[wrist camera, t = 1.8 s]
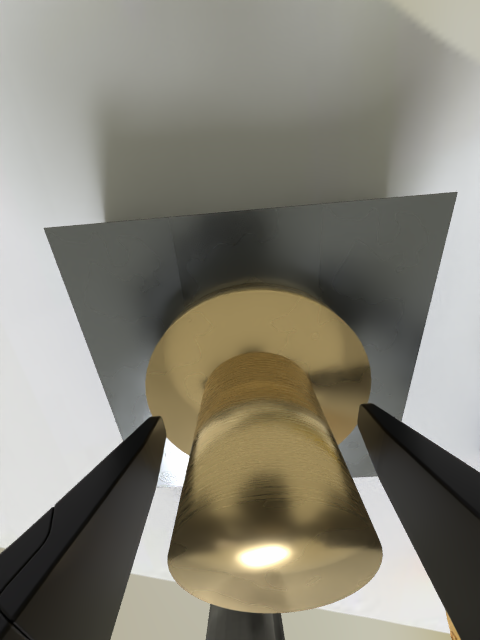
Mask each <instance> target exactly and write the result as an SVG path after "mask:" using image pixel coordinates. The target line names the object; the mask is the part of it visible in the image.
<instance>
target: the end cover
mask: <svg viewBox="0 0 480 640" xmlns="http://www.w3.org/2000/svg"><path fill="white" fill-rule="evenodd" d="M145 388H146V398H147V402H148V407H149V409H150V412H151V415H152V416H161V417H162V419H163V422H164V426H165V429H166V438H167V439H168V440H169V441H170V442H171V443H172V444H173V445H175V446H176V447H177V448H178V449H180V450H181V451H182V452H184V453H185V454H187V455H188V456H189V460H188V465H187V470H186V474H185V479H184V483H183V488H182V493H181V497H180V502H179V506H178V511H177V515H176V520H175V525H174V529H173V534H172V538H171V543H170V548H169V552H168V567H169V571H170V573H171V575H172V577H173V578H174V580H175V581H176V582H177V583H178V584H179V585H180V586H181V587H182V588H183V589H184V590H186V591H187V592H188V593H190V594H191V595H193V596H195V597H197V598H198V599H201V600H203V601H205V602H207V603H210V604H213V605H216V606H219V607H223V608H227V609H231V610H236V611H243V612H251V613H287V612H296V611H303V610H308V609H313V608H317V607H321V606H325V605H328V604H331V603H334V602H336V601H339V600H341V599H343V598H345V597H347V596H349V595H351V594H353V593H355V592H356V591H358V590H359V589H361V588H362V587H363V586H365V585H366V584H367V583H368V582H369V581H370V580H371V579H372V578H373V577H374V576H375V574H376V573H377V571H378V570H379V567H380V565H381V562H382V556H383V553H382V546H381V543H380V541H379V538H378V536H377V534H376V531H375V529H374V527H373V524H372V522H371V520H370V518H369V515H368V513H367V511H366V508H365V506H364V504H363V502H362V499H361V497H360V495H359V492H358V490H357V488H356V486H355V483H354V481H353V479H352V476H351V474H350V472H349V470H348V467H347V465H346V463H345V460H344V458H343V456H342V454H341V451H340V449H339V447H338V445H339V444H340V443H341V442H342V441H343V440H344V439H345V438H346V437H347V436H348V435H349V434H350V433H351V432H352V431H353V429H354V428H355V427H356V425H357V419H358V412H359V406H360V405H361V404H364V403H368V400H369V396H370V391H371V369H370V364H369V360H368V357H367V354H366V352H365V349H364V347H363V345H362V343H361V341H360V340H359V338H358V337H357V335H356V334H355V332H354V331H353V330H352V329H351V328H350V327H349V326H348V325H347V324H346V323H345V322H344V321H343V320H342V319H341V318H340V317H339V316H338V315H337V314H336V313H335V312H334V311H333V310H332V309H331V308H329V307H328V306H327V305H326V304H324V303H323V302H322V301H320V300H318V299H317V298H315V297H313V296H312V295H310V294H308V293H305V292H303V291H300V290H298V289H295V288H292V287H288V286H284V285H279V284H270V283H247V284H240V285H233V286H230V287H226V288H222V289H219V290H217V291H214V292H212V293H210V294H207V295H205V296H203V297H202V298H200V299H198V300H197V301H195V302H193V303H192V304H191V305H190V306H188V307H187V308H186V309H185V310H183V311H182V312H181V313H180V314H179V315H178V316H177V317H176V318H175V320H174V321H173V322H172V323H171V325H170V326H169V328H168V329H167V331H166V332H165V334H164V335H163V336H162V338H161V339H160V341H159V342H158V344H157V345H156V347H155V349H154V351H153V353H152V355H151V358H150V361H149V364H148V368H147V372H146V380H145Z"/></svg>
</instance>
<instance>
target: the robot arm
mask: <svg viewBox="0 0 480 640" xmlns="http://www.w3.org/2000/svg"><path fill="white" fill-rule="evenodd" d="M357 424H358V428H359V431H360V433H361V436H362V438H363V441H364V444H365V446H366V449H367V451H368V454H369V456H370V459H371V461H372V464H373V466H374V469H375V471H376V473H377V475H378V477H379V480H380V482H381V484H382V486H383V487H384V489H385V491H386V493H387V495H388V497H389V499H390V501H391V503H392V505H393V507H394V509H395V511H396V513H397V515H398V517H399V519H400V521H401V523H402V525H403V527H404V529H405V531H406V533H407V535H408V537H409V539H410V541H411V543H412V545H413V547H414V549H415V550H416V552H417V554H418V556H419V558H420V560H421V562H422V564H423V566H424V568H425V570H426V572H427V574H428V576H429V578H430V580H431V582H432V584H433V586H434V588H435V590H436V592H437V594H438V596H439V598H440V600H441V602H442V604H443V606H444V608H445V610H446V612H447V613H448V615H449V617H450V619H451V621H452V623H453V625H454V627H455V629H456V631H457V633H458V635H459V637H460V639H461V640H480V472H478V471H477V470H475V469H474V468H472V467H470V466H469V465H467V464H466V463H464V462H463V461H461V460H460V459H458V458H457V457H455V456H453V455H452V454H450V453H449V452H447V451H446V450H444V449H443V448H441V447H440V446H438V445H437V444H435V443H433V442H432V441H430V440H429V439H427V438H426V437H424V436H423V435H421V434H420V433H418V432H416V431H415V430H413V429H412V428H410V427H409V426H407V425H406V424H404V423H403V422H401V421H400V420H398V419H396V418H395V417H393V416H392V415H390V414H389V413H387V412H386V411H384V410H383V409H381V408H379V407H378V406H376V405H375V404H373V403H364V404H361V405H360V406H359V412H358V419H357ZM165 442H166V429H165V426H164V422H163V419H162V417H161V416H151V417H149V418H148V419H147V420H146V421H145V422H143V423H142V424H141V425H140V426H139V427H138V428H137V429H136V430H135V431H134V432H133V433H132V434H131V435H129V436H128V437H127V438H126V439H125V440H124V441H123V442H122V443H121V444H120V445H119V446H118V447H117V448H115V449H114V450H113V451H112V452H111V453H110V454H109V455H108V456H107V457H106V458H105V459H104V460H103V461H101V462H100V463H99V464H98V465H97V466H96V467H95V468H94V469H93V470H92V471H91V472H90V473H89V474H87V475H86V476H85V477H84V478H83V479H82V480H81V481H80V482H79V483H78V484H77V485H76V486H75V487H73V488H72V489H71V490H70V491H69V492H68V493H67V494H66V495H65V496H64V497H63V498H62V499H61V500H59V501H58V502H57V503H56V504H55V507H52V508H51V509H50V510H49V511H47V512H46V513H45V514H44V515H43V516H42V517H41V518H40V519H39V520H38V521H37V522H36V523H34V524H33V525H32V526H31V527H30V528H29V529H28V530H27V531H26V532H24V533H23V534H22V535H21V536H20V537H19V538H18V539H17V540H16V541H14V542H13V543H12V544H11V545H10V546H9V547H7V548H6V549H5V550H4V551H3V552H2V553H0V640H110V639H111V635H112V632H113V629H114V625H115V622H116V619H117V615H118V612H119V609H120V605H121V602H122V599H123V596H124V592H125V589H126V585H127V582H128V579H129V575H130V572H131V569H132V566H133V563H134V559H135V556H136V553H137V549H138V546H139V543H140V539H141V536H142V533H143V529H144V526H145V523H146V519H147V516H148V513H149V510H150V506H151V503H152V500H153V496H154V493H155V490H156V486H157V482H158V478H159V473H160V468H161V463H162V458H163V453H164V447H165Z"/></svg>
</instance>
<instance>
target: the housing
mask: <svg viewBox="0 0 480 640" xmlns="http://www.w3.org/2000/svg"><path fill="white" fill-rule="evenodd" d="M457 193H458V192H450V193H439V194H428V195H416V196H405V197H393V198H382V199H370V200H359V201H347V202H336V203H325V204H313V205H302V206H290V207H279V208H267V209H256V210H244V211H233V212H221V213H210V214H199V215H187V216H176V217H164V218H153V219H141V220H130V221H118V222H107V223H96V224H84V225H73V226H61V227H50V228H44V230H45V233H46V236H47V238H48V241H49V244H50V246H51V249H52V252H53V254H54V257H55V260H56V262H57V265H58V268H59V270H60V273H61V276H62V278H63V281H64V284H65V286H66V289H67V292H68V294H69V297H70V300H71V303H72V305H73V308H74V311H75V313H76V316H77V319H78V321H79V324H80V327H81V329H82V332H83V335H84V337H85V340H86V343H87V345H88V348H89V351H90V353H91V356H92V359H93V361H94V364H95V367H96V369H97V372H98V375H99V377H100V380H101V383H102V385H103V388H104V391H105V393H106V396H107V399H108V401H109V404H110V407H111V409H112V412H113V415H114V418H115V420H116V423H117V426H118V428H119V431H120V434H121V436H122V439H123V441H124V440H125V439H126V438H127V437H128V436H129V435H131V434H132V433H133V432H134V431H135V430H136V429H137V428H138V427H139V426H140V425H141V424H142V423H143V422H145V421H146V420H147V419H148V418H149V417H151V416H152V415H151V412H150V409H149V407H148V402H147V398H146V388H145V380H146V372H147V368H148V364H149V361H150V358H151V355H152V353H153V351H154V349H155V347H156V345H157V344H158V342H159V341H160V339H161V338H162V336H163V335H164V334H165V332H166V331H167V329H168V328H169V326H170V325H171V323H172V322H173V321H174V320H175V318H176V317H177V316H178V315H179V314H180V313H181V312H182V311H183V310H185V309H186V308H187V307H188V306H190V305H191V304H192V303H193V302H195V301H197V300H198V299H200V298H202V297H203V296H205V295H207V294H210V293H212V292H214V291H217V290H219V289H222V288H226V287H230V286H233V285H240V284H247V283H270V284H279V285H284V286H288V287H292V288H295V289H298V290H300V291H303V292H305V293H308V294H310V295H312V296H313V297H315V298H317V299H318V300H320V301H322V302H323V303H324V304H326V305H327V306H328V307H329V308H331V309H332V310H333V311H334V312H335V313H336V314H337V315H338V316H339V317H340V318H341V319H342V320H343V321H344V322H345V323H346V324H347V325H348V326H349V327H350V328H351V329H352V330H353V331H354V332H355V334H356V335H357V337H358V338H359V340H360V341H361V343H362V345H363V347H364V349H365V352H366V354H367V357H368V360H369V364H370V369H371V391H370V396H369V400H368V403H373V404H375V405H376V406H378V407H379V408H381V409H383V410H384V411H386V412H387V413H389V414H390V415H392V416H393V417H395V418H396V419H398V420H400V421H402V417H403V413H404V408H405V404H406V400H407V396H408V392H409V388H410V384H411V380H412V376H413V372H414V368H415V364H416V360H417V355H418V351H419V347H420V343H421V339H422V335H423V331H424V327H425V323H426V319H427V315H428V311H429V307H430V303H431V298H432V294H433V290H434V286H435V282H436V278H437V274H438V270H439V266H440V262H441V258H442V254H443V250H444V245H445V241H446V237H447V233H448V229H449V225H450V221H451V217H452V213H453V209H454V205H455V201H456V197H457ZM338 447H339V449H340V451H341V454H342V456H343V458H344V460H345V463H346V465H347V467H348V470H349V472H350V474H351V476H352V478H353V477H373V476H378V475H377V473H376V471H375V469H374V466H373V464H372V461H371V459H370V456H369V454H368V451H367V449H366V446H365V444H364V441H363V438H362V436H361V433H360V431H359V428H358V424H357V425H356V427H355V428H354V429H353V431H352V432H351V433H350V434H349V435H348V436H347V437H346V438H345V439H344V440H343V441H342V442H341V443H340V444H339V445H338ZM188 460H189V456H188V455H187V454H185V453H184V452H182V451H181V450H180V449H178V448H177V447H176V446H175V445H173V444H172V443H171V442H170V441H169V440H168V439H167V438H166V442H165V447H164V453H163V458H162V463H161V468H160V473H159V478H158V482H157V486H156V487H174V486H183V483H184V479H185V474H186V470H187V465H188Z"/></svg>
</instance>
